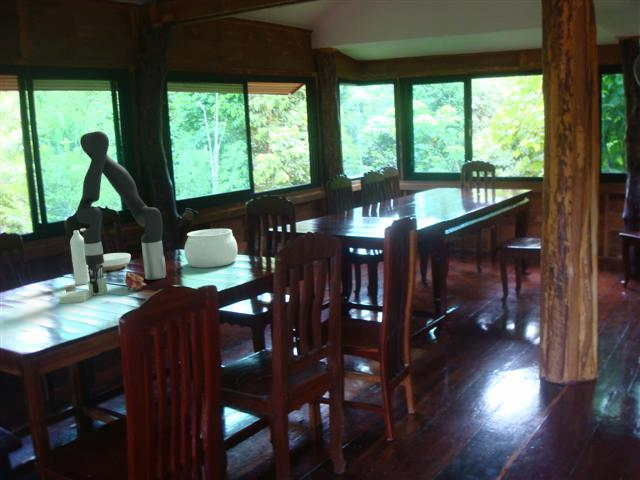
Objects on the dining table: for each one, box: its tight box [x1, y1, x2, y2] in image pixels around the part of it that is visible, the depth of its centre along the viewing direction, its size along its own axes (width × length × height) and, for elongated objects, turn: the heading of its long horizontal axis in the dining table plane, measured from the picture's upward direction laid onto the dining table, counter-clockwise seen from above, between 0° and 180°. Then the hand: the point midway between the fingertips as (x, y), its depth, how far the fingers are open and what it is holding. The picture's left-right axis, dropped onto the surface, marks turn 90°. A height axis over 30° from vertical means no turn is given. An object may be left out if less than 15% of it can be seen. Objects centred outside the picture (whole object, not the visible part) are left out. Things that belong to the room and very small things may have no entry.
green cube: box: [87, 277, 108, 296], centre depth 296 cm, size 6×6×6 cm
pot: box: [184, 228, 239, 269], centre depth 345 cm, size 29×26×16 cm
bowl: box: [100, 252, 132, 271], centre depth 350 cm, size 20×20×6 cm
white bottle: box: [69, 228, 90, 286], centre depth 317 cm, size 9×6×25 cm
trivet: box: [59, 289, 93, 304], centre depth 287 cm, size 10×10×2 cm
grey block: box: [64, 283, 77, 293], centre depth 296 cm, size 4×4×4 cm
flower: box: [124, 271, 147, 292], centre depth 297 cm, size 10×9×8 cm
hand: (98, 290), depth 296 cm, fingers closed on green cube, 6 cm apart
